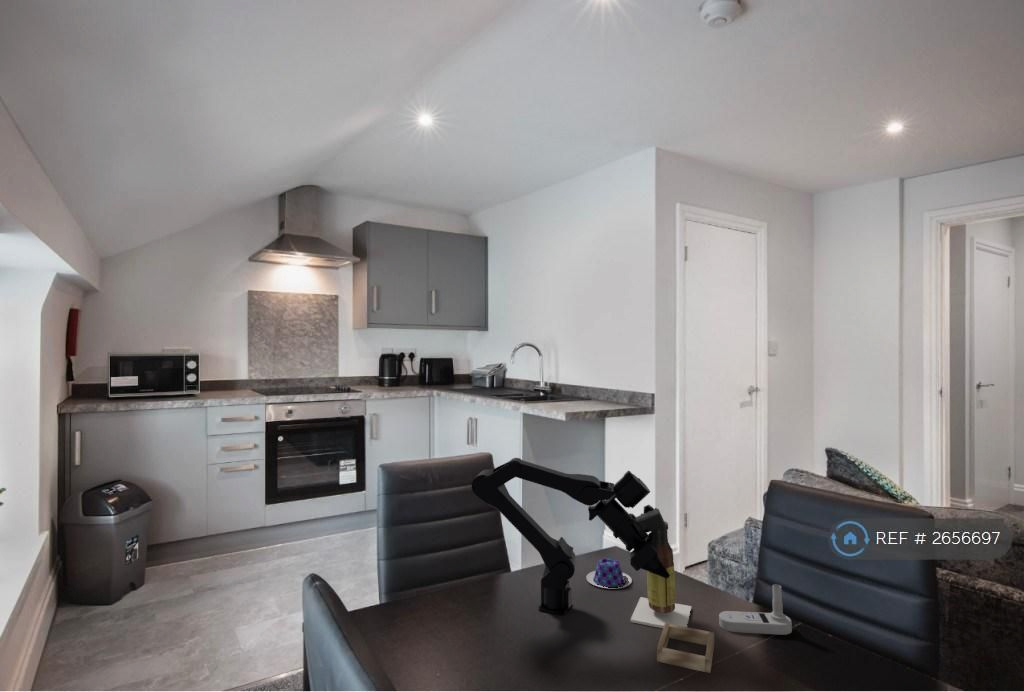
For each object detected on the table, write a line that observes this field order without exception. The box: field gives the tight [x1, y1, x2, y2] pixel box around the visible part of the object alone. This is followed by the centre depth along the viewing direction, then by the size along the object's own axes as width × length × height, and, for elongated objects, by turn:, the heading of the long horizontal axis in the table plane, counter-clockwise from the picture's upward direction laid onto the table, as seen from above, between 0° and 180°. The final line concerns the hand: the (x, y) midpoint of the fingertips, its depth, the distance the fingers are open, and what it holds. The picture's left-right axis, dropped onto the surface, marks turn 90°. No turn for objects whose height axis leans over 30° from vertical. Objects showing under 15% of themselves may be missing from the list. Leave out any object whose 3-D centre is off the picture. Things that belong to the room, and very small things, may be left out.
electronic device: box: [718, 584, 793, 636], centre depth 122 cm, size 5×10×15 cm
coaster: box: [630, 596, 692, 629], centre depth 128 cm, size 12×12×1 cm
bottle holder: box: [656, 623, 715, 674], centre depth 112 cm, size 10×11×2 cm
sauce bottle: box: [646, 520, 676, 613], centre depth 128 cm, size 6×6×20 cm
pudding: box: [585, 557, 633, 590], centre depth 147 cm, size 12×12×5 cm
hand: (666, 571), depth 128 cm, fingers closed on sauce bottle, 6 cm apart
